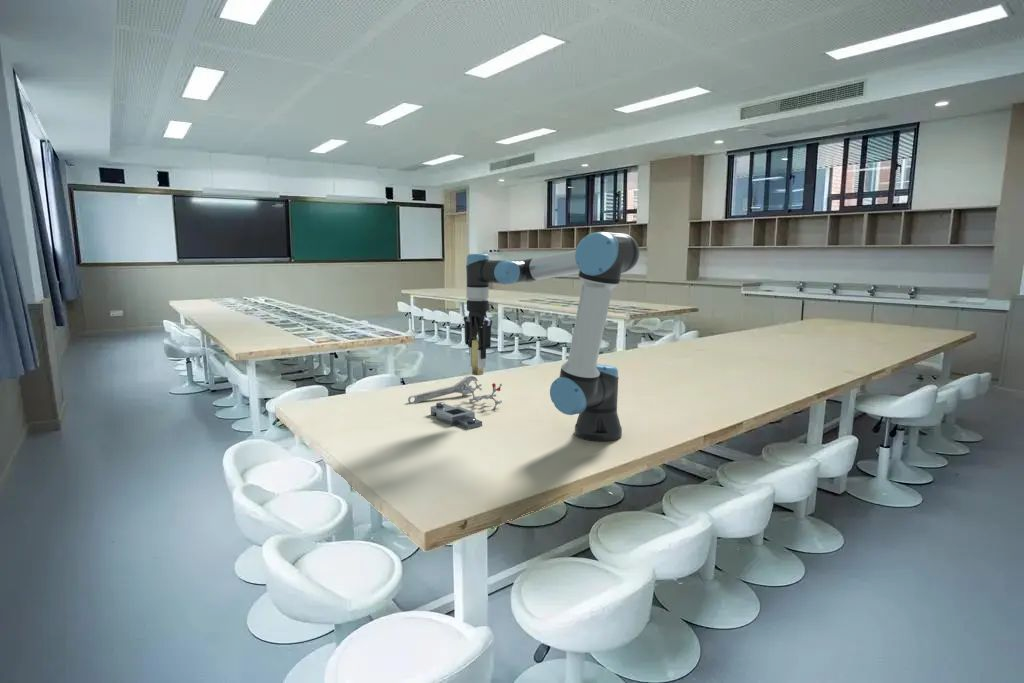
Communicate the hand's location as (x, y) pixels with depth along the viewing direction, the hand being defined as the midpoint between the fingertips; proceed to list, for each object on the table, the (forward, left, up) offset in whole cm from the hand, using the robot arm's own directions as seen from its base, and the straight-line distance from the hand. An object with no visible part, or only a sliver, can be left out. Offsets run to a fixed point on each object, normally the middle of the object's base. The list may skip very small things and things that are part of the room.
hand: (477, 366), depth 192 cm
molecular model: (+14, -13, -20) cm, 27 cm away
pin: (0, 0, -3) cm, 3 cm away
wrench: (+32, -7, -20) cm, 38 cm away
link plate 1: (+8, +6, -19) cm, 22 cm away
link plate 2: (+2, +6, -19) cm, 20 cm away
